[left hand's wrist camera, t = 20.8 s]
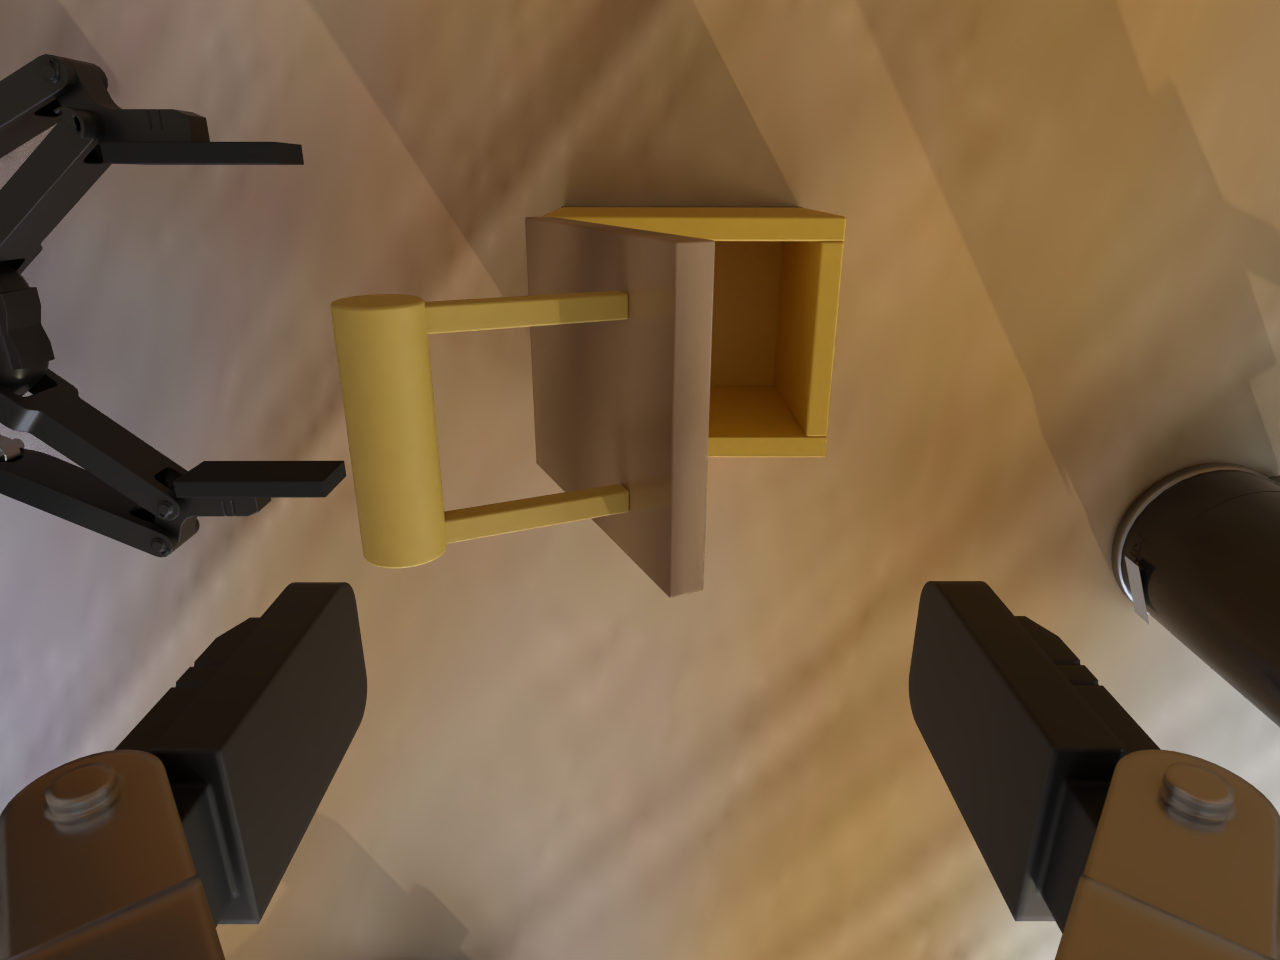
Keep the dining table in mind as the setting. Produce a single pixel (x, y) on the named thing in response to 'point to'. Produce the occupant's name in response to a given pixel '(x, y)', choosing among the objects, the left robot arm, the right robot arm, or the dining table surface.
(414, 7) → the dining table surface
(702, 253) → the lid
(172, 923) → the left robot arm
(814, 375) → the chest
